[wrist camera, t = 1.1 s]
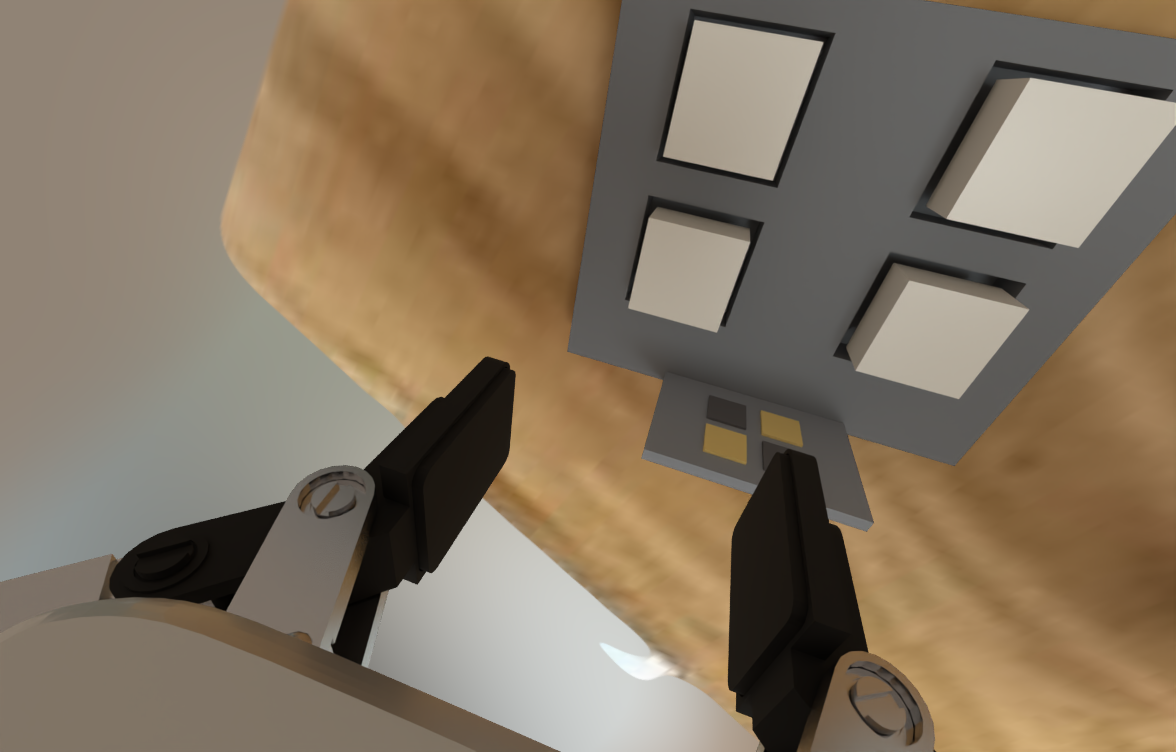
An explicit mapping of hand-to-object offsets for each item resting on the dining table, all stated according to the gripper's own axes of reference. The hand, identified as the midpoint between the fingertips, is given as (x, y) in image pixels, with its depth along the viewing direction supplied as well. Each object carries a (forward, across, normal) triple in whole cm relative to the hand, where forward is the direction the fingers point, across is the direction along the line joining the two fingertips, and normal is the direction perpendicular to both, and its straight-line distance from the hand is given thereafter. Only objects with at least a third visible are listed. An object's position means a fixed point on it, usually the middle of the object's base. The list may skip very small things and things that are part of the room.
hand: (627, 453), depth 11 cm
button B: (+15, 0, -7) cm, 17 cm away
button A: (+15, -11, -7) cm, 20 cm away
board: (+18, -6, -2) cm, 19 cm away
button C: (+15, -11, 0) cm, 19 cm away
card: (+15, -6, +7) cm, 17 cm away
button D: (+15, 0, 0) cm, 15 cm away
